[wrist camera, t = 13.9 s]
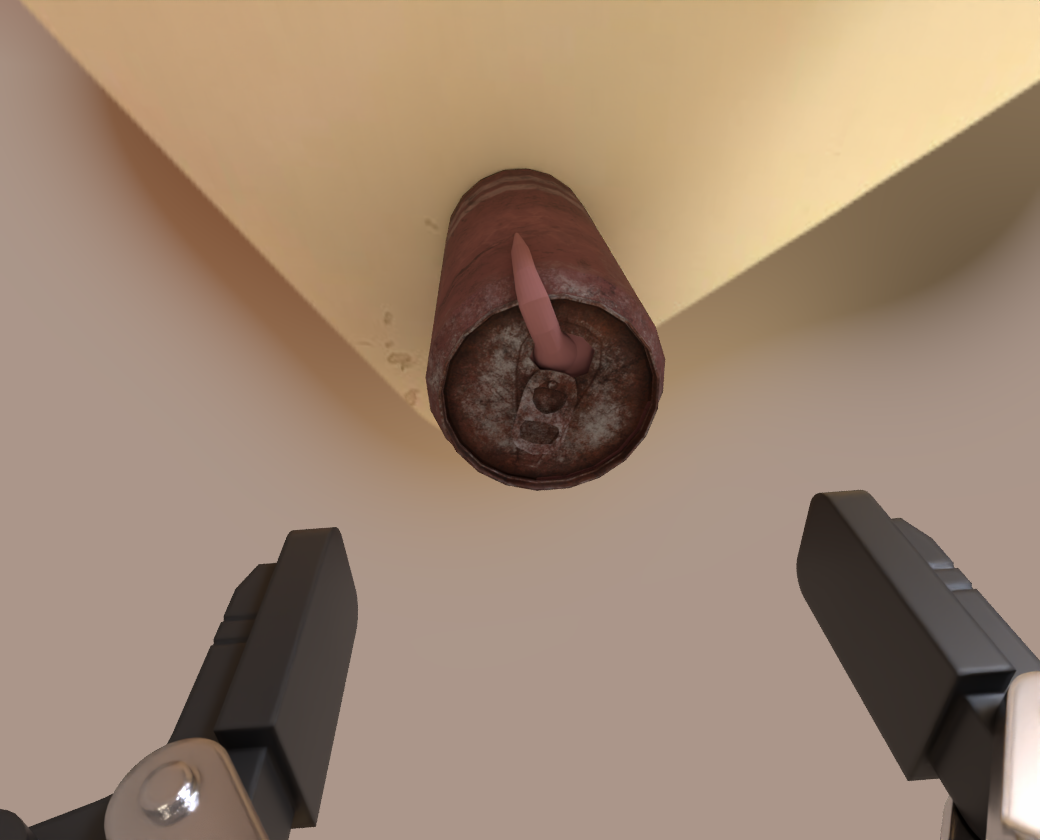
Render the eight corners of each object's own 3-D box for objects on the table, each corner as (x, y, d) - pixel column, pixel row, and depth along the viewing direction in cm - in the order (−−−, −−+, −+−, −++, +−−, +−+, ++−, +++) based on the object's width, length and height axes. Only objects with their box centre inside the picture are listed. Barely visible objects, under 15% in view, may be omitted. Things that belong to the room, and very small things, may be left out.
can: (561, 135, 25) (635, 230, 14) (606, 280, 29) (698, 460, 17) (420, 192, 26) (374, 329, 14) (479, 327, 29) (481, 530, 18)
